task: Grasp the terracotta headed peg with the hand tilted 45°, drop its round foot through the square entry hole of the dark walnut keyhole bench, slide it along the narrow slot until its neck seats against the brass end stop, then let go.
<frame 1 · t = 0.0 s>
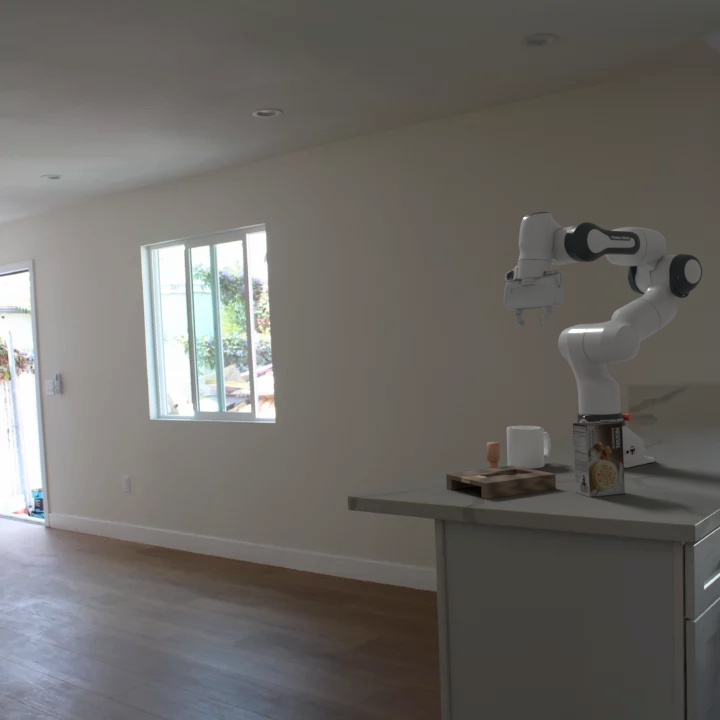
hand: (531, 325, 210), 39 cm above the countertop, tool pointing down, fingers open, 8 cm apart
keyhole bench: (500, 488, 191), on the countertop
coffee box: (599, 494, 181), on the countertop
peg: (494, 477, 206), on the countertop
mug: (529, 466, 224), on the countertop
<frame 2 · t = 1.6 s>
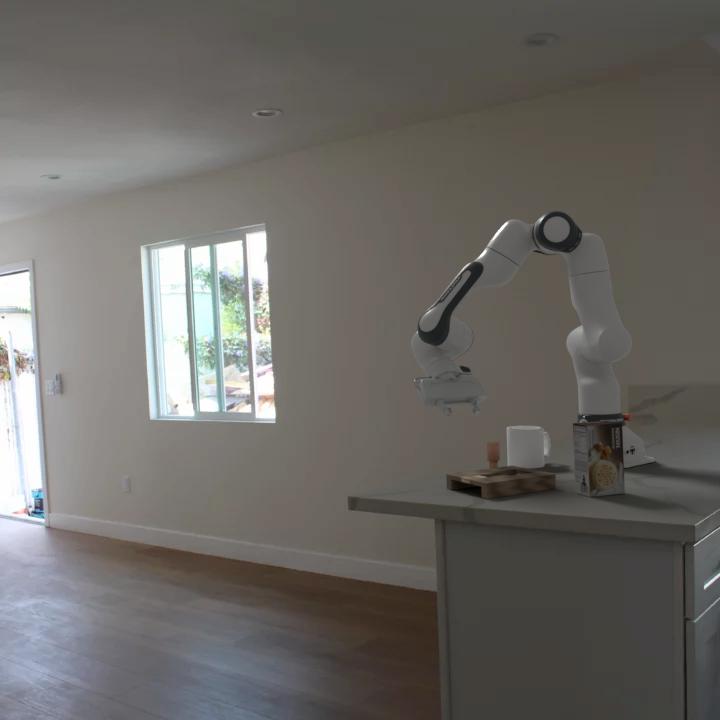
hand: (463, 413, 216), 16 cm above the countertop, tool tilted 45°, fingers open, 8 cm apart
nothing on the countertop moved.
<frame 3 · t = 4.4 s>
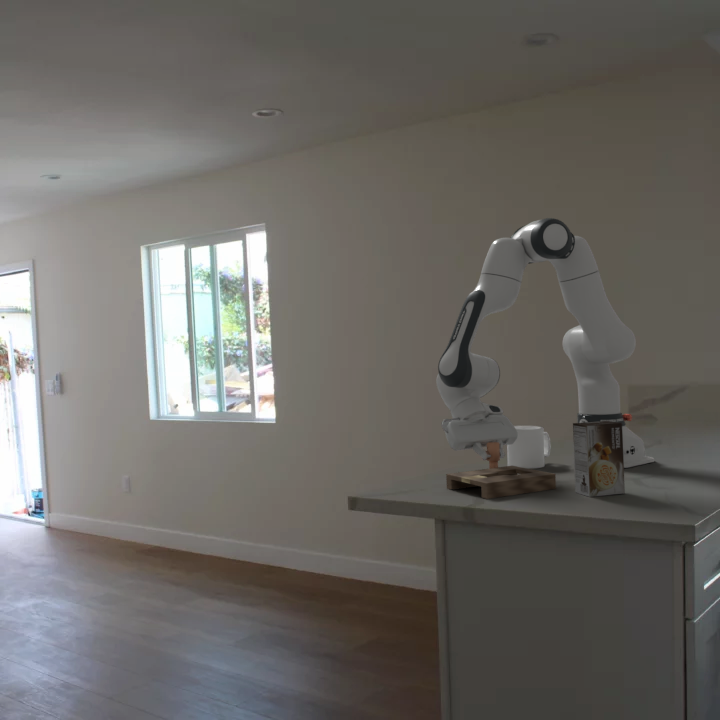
hand: (495, 457, 205), 5 cm above the countertop, tool tilted 45°, fingers closed on peg, 3 cm apart
peg: (494, 477, 206), on the countertop, touching gripper
everything else where it was.
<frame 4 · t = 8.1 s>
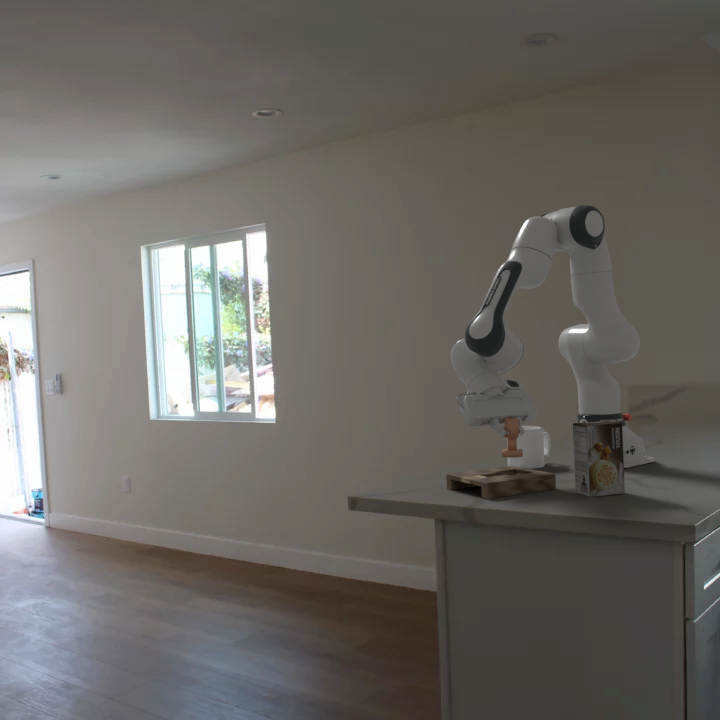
hand: (513, 434, 192), 13 cm above the countertop, tool tilted 45°, fingers closed on peg, 3 cm apart
peg: (512, 456, 192), point 7 cm above the countertop, touching gripper
everything else where it was.
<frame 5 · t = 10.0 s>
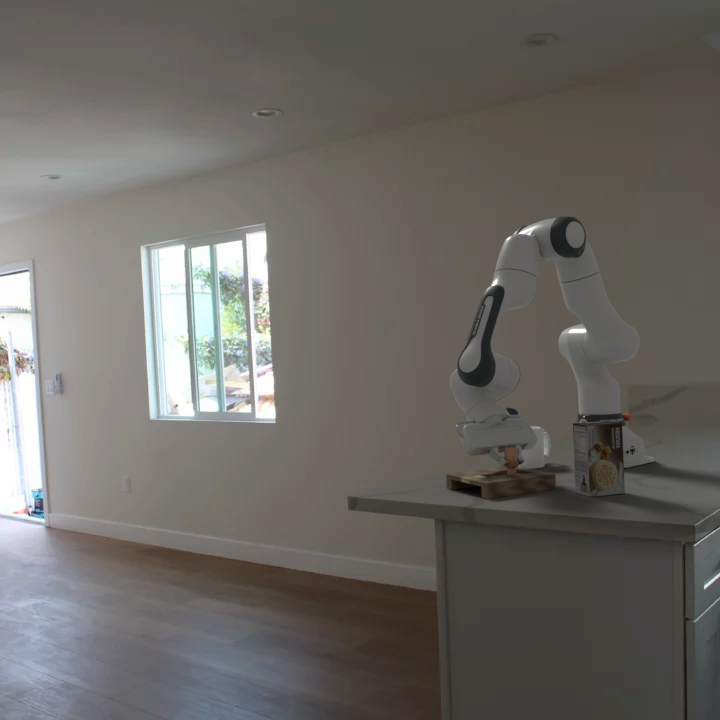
hand: (513, 463, 192), 6 cm above the countertop, tool tilted 45°, fingers closed on peg, 3 cm apart
peg: (512, 485, 192), on the countertop, touching gripper
everything else where it was.
when the fingers open (6 cm above the countertop, at t = 11.8 s): peg stays where it is, on the countertop.
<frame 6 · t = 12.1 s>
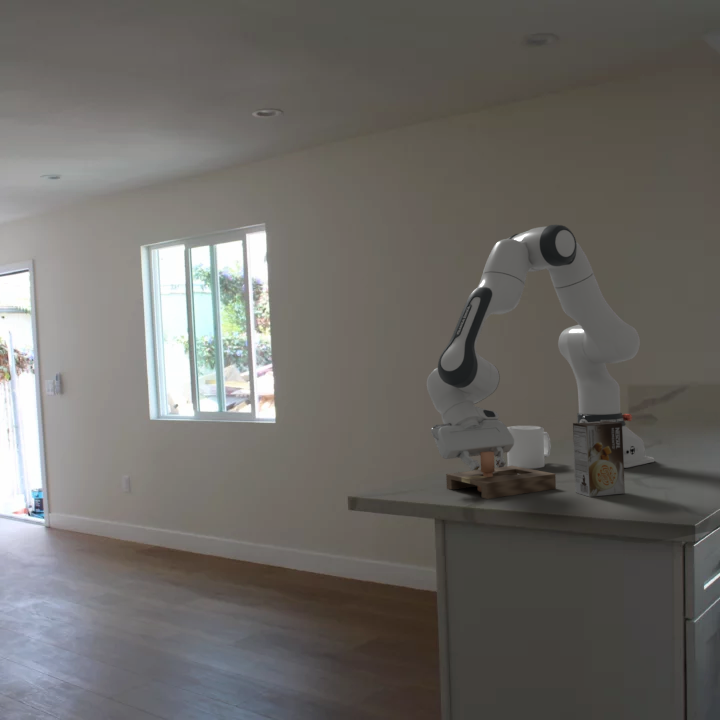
hand: (489, 467, 188), 6 cm above the countertop, tool tilted 45°, fingers open, 6 cm apart
peg: (488, 490, 189), on the countertop
everything else where it was.
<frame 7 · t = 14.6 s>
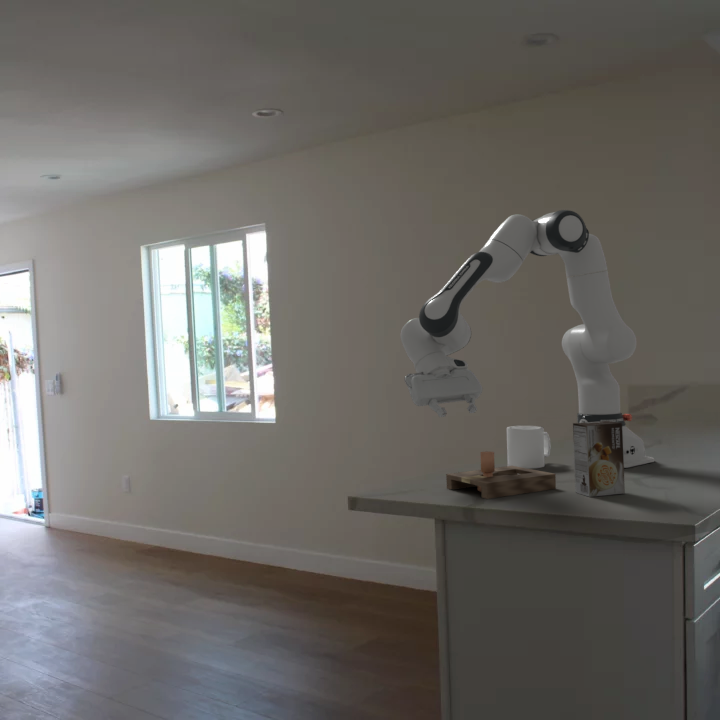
hand: (458, 413, 200), 17 cm above the countertop, tool tilted 40°, fingers open, 8 cm apart
nothing on the countertop moved.
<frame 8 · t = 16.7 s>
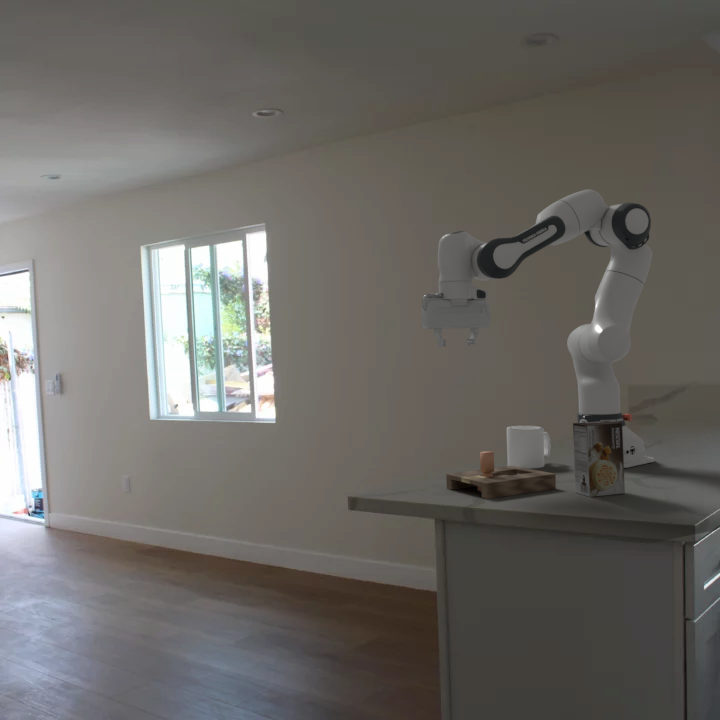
hand: (457, 345, 211), 34 cm above the countertop, tool pointing down, fingers open, 8 cm apart
nothing on the countertop moved.
at the end: peg 0.1 cm from the target spot on the keyhole bench, point 0.0 cm above the keyhole bench's base; peg tilted 1°; the gripper is holding nothing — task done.
